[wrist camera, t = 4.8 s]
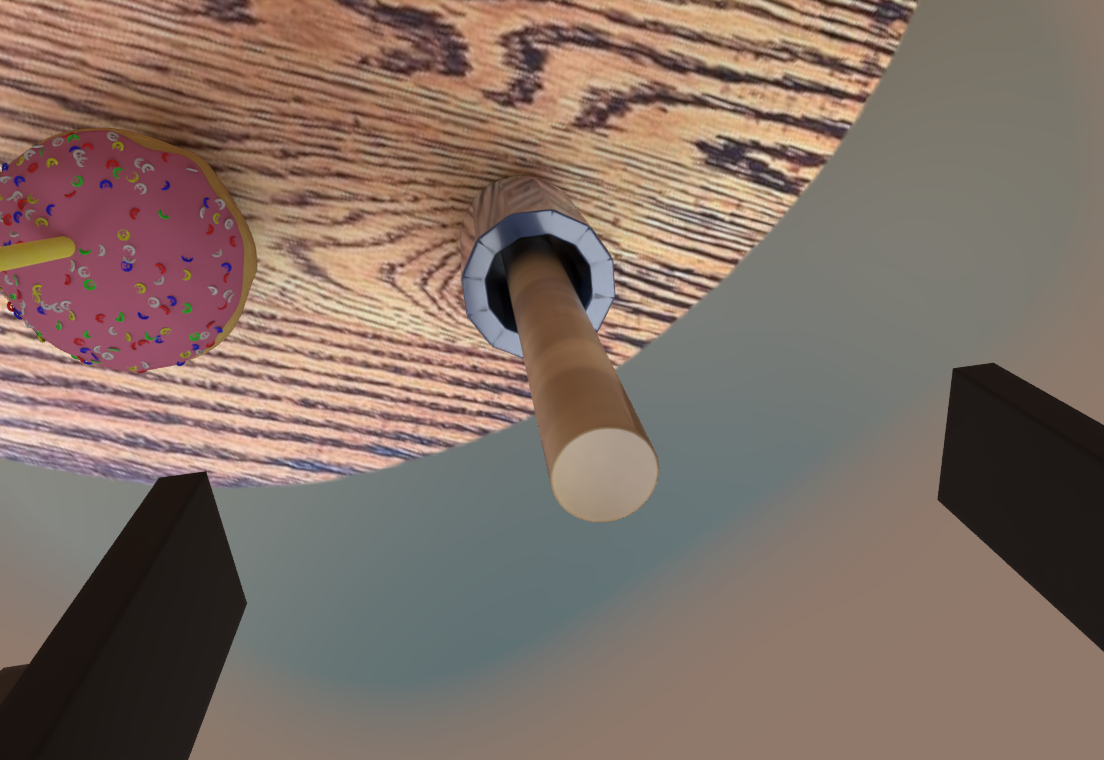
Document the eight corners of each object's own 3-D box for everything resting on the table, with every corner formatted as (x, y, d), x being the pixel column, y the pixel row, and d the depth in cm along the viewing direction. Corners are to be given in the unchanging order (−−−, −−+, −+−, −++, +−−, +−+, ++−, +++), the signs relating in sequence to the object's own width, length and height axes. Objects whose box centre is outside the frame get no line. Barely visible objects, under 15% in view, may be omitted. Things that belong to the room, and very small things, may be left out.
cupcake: (9, 232, 31) (-243, 332, 20) (135, 65, 29) (-64, 70, 18) (198, 367, 33) (72, 520, 22) (323, 223, 32) (253, 311, 21)
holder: (575, 168, 32) (609, 202, 25) (584, 285, 34) (619, 349, 27) (454, 182, 32) (452, 220, 24) (470, 299, 34) (473, 367, 26)
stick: (543, 211, 32) (657, 419, 14) (548, 259, 33) (661, 515, 14) (495, 217, 32) (545, 434, 14) (501, 264, 33) (555, 530, 14)
